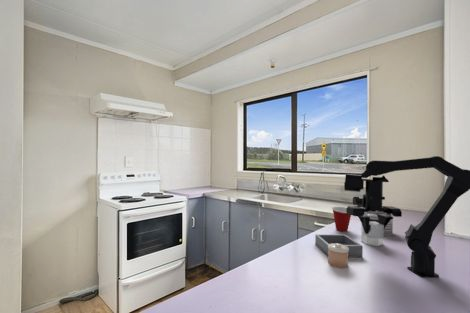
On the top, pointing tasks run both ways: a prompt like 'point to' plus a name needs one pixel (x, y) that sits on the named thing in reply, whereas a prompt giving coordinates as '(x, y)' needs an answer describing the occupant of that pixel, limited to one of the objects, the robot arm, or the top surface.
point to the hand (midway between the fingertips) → (373, 233)
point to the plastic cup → (341, 218)
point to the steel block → (375, 230)
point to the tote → (327, 239)
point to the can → (387, 226)
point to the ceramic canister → (338, 255)
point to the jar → (371, 240)
